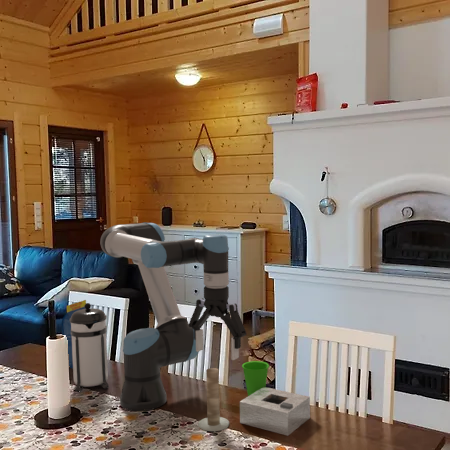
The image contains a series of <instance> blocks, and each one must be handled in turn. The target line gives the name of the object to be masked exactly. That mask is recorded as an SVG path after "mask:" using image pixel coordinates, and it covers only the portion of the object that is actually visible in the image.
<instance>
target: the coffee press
mask: <svg viewBox="0 0 450 450" xmlns="http://www.w3.org/2000/svg"><path fill="white" fill-rule="evenodd" d="M84 307H85V308H86V309H82V310H78V311H76V312H74V313H73V314H72V316H71V318H70V323H71V335H72V356H73V368H72V371H73V372H72V374H73V382H74V384H75V385H76V386H75V392H76V393H80V392H81V391H82V389H83V388H84V387H85V388H86V387H88V388H89V387H95V386H101V387H102V389H104V390H106V389H108V388H109V383H108V378H109V369H108V368H109V366H108V348H107V347H108V345H107V329H108V328H107V323H106V322H107V319H108V317H107V315H106V314H105V312H104V311H103V310H102V309H99V308H91V307H92V304H91V303H90V302H86V304H85V306H84ZM79 391H80V392H79Z"/></svg>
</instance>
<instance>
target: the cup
mask: <svg viewBox="0 0 450 450" xmlns="http://www.w3.org/2000/svg"><path fill="white" fill-rule="evenodd" d="M269 367H270V365H269V363H268V362H266V361H260V360H251V361H246V362H244V363H243V364H242V365H241V369H243V375H244V380H245V386H246V391H247V392H246V393H247V397H248V396H250V395H251V394H253V393H254V392H256V391H258V390H259V389H261V388H263V387H267V378H268V372H269V371H268V370H269Z"/></svg>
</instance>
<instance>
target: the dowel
mask: <svg viewBox="0 0 450 450" xmlns="http://www.w3.org/2000/svg"><path fill="white" fill-rule="evenodd" d="M205 374H206V376H205V377H206V412H207V413H206V416H207V417H206V418H208V425H211V426H216V425H219V424H220V417H221V415H220V414H221V413H220V376H219V374H220V373H219V369H218V368H216V367H210V368H207V369H206V373H205Z"/></svg>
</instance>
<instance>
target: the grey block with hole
mask: <svg viewBox="0 0 450 450" xmlns="http://www.w3.org/2000/svg"><path fill="white" fill-rule="evenodd" d="M309 419H311V396H308V395H303V394H300V393H299V394H298V393H293V392H291V391H290V392H289V391H285V390H282V389H281V390H280V389H276V388H271V387H267V386H266V387H263V388H261V389H259V390H258V391H256V392H254V393H253V394H251V395H250V396H248V395H247V396H246V397H245V398H243V399H241V400H240V401H239V423H240V424H243V425H246V426H250V427H254V428H258V429H262V430H266V431H268V432H272V433H276V434H280V435H284V436H287V437H289V435H291V434H292V433H294V431H296V429H298V428H300V427H301V426H302V425H303V424H305V423H306V422H307V421H308V420H309Z"/></svg>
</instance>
